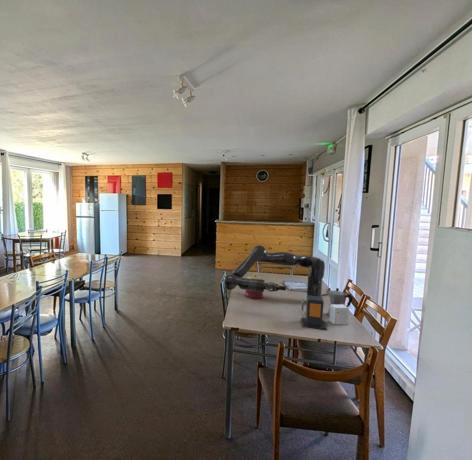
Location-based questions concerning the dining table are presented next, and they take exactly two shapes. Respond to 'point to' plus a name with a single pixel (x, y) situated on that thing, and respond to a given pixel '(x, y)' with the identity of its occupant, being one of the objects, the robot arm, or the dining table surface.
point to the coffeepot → (338, 298)
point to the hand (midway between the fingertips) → (285, 288)
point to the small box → (339, 314)
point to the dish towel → (295, 285)
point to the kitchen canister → (254, 293)
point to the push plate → (302, 304)
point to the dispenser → (314, 313)
